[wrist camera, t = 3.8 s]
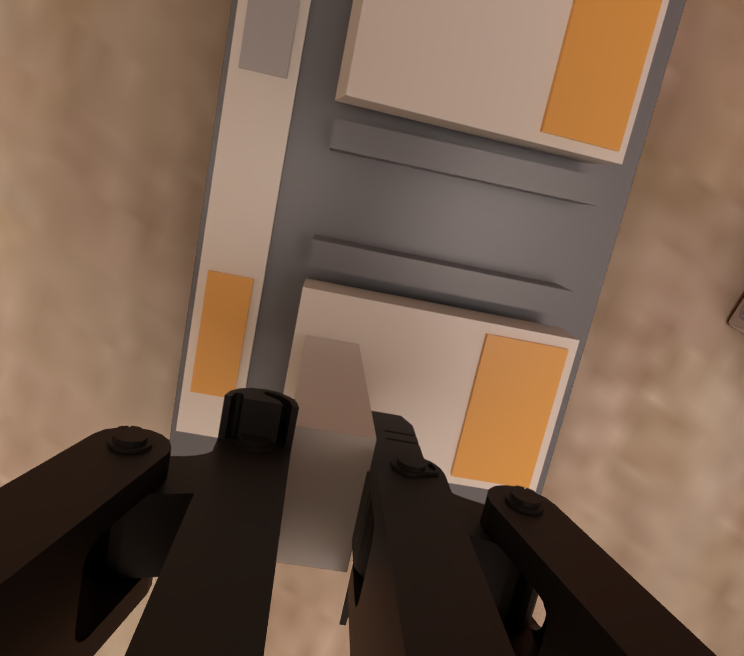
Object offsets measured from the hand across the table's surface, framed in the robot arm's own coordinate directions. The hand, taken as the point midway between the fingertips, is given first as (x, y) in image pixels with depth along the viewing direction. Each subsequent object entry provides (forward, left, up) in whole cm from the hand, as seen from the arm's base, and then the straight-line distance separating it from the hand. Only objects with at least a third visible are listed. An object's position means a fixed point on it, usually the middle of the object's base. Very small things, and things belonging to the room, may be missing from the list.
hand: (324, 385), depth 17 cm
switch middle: (-10, +3, -1) cm, 11 cm away
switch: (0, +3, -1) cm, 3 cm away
